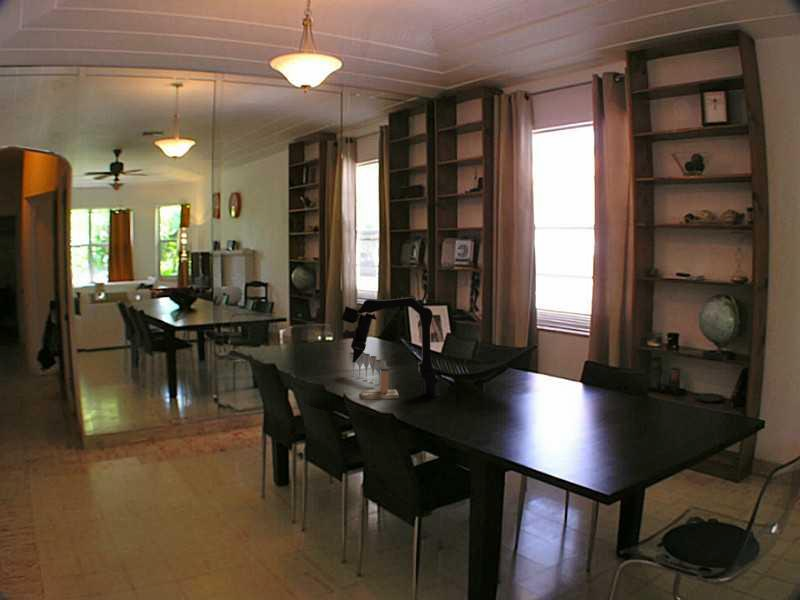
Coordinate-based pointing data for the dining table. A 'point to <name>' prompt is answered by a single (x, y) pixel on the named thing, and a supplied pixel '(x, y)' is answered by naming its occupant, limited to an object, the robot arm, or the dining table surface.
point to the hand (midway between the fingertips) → (354, 360)
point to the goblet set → (366, 360)
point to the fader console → (379, 394)
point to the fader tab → (384, 379)
